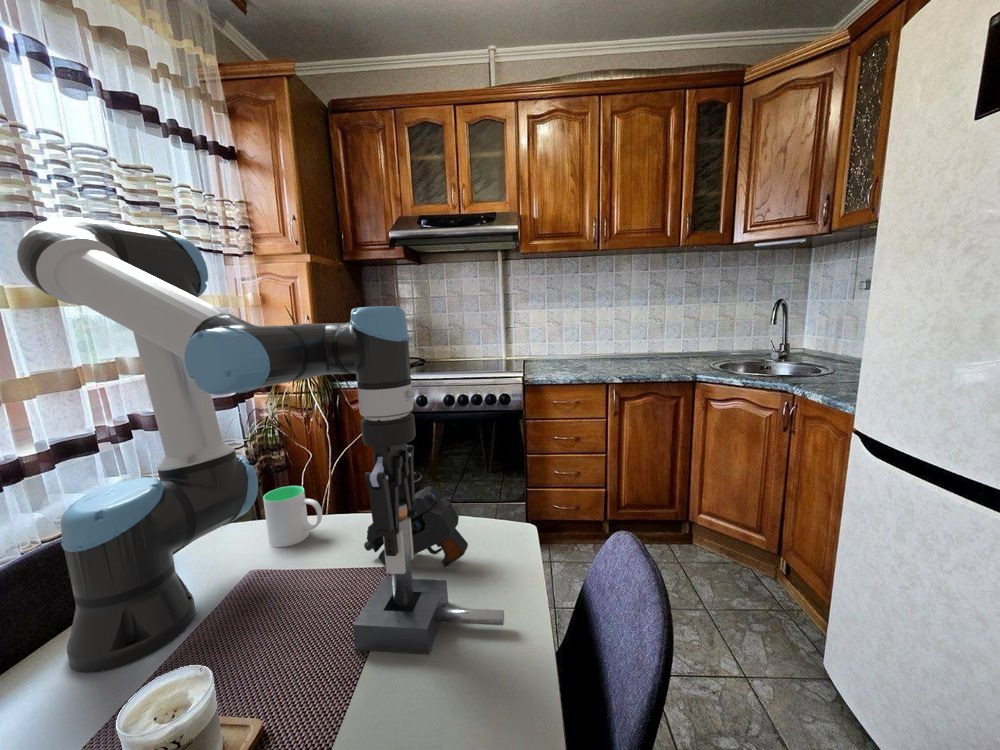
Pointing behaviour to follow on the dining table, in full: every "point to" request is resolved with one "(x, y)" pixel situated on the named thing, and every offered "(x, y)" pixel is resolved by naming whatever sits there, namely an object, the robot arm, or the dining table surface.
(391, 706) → the dining table surface
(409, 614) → the grey holed block
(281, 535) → the mug
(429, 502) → the toy gun
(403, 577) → the grey metal rod
